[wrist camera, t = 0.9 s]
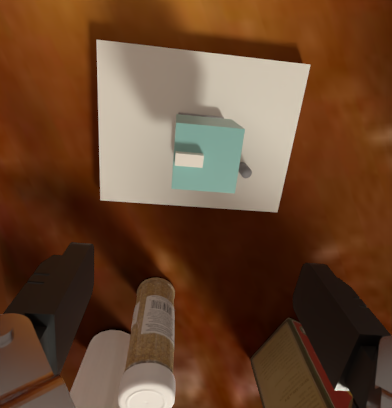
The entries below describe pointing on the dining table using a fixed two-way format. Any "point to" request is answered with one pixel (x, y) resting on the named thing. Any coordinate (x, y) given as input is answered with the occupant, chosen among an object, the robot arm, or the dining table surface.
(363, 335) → the robot arm
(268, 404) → the food packaging
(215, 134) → the mint cube with tab
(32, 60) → the dining table surface
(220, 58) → the stud board
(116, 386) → the cup
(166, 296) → the sprinkles bottle
